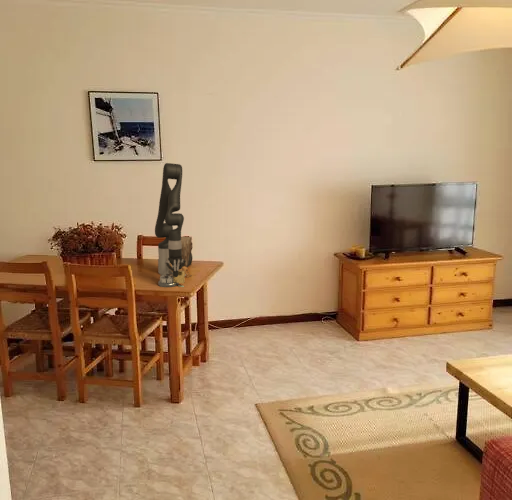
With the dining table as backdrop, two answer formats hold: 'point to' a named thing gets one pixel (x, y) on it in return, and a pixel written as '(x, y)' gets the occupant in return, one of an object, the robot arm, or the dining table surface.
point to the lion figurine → (183, 270)
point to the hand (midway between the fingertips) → (175, 276)
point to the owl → (186, 250)
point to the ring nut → (173, 278)
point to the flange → (167, 283)
